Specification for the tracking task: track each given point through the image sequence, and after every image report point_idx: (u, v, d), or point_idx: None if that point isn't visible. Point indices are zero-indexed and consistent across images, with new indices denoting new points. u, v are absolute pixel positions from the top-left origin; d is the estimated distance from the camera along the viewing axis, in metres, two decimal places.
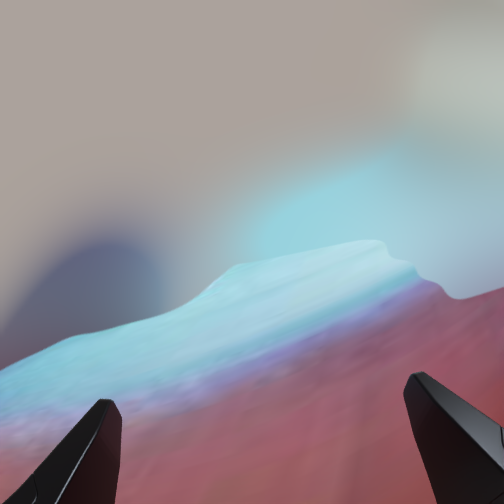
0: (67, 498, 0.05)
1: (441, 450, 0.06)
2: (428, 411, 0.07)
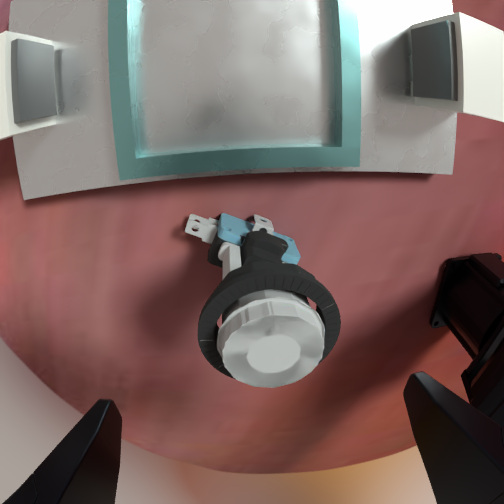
0: (67, 499, 0.05)
1: (441, 450, 0.06)
2: (428, 411, 0.07)
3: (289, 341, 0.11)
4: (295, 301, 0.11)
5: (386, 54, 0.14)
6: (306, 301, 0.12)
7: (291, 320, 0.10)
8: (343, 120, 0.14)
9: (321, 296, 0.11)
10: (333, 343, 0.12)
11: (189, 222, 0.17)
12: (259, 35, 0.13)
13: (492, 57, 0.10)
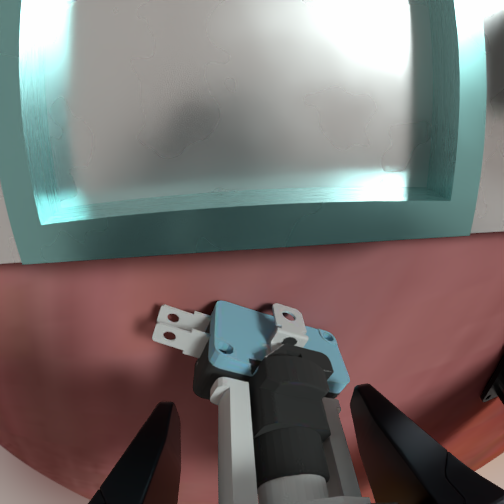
0: None
1: (382, 470, 0.06)
2: (369, 427, 0.07)
3: None
4: None
5: (501, 37, 0.06)
6: None
7: None
8: (459, 149, 0.06)
9: None
10: None
11: (158, 327, 0.09)
12: None
13: None
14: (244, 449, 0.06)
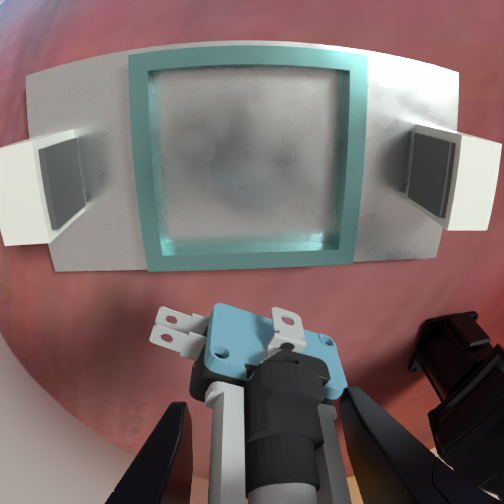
0: None
1: (369, 473, 0.06)
2: (357, 430, 0.07)
3: None
4: None
5: (388, 157, 0.17)
6: None
7: None
8: (342, 227, 0.18)
9: None
10: None
11: (155, 329, 0.09)
12: (273, 144, 0.17)
13: (485, 174, 0.13)
14: (235, 455, 0.06)
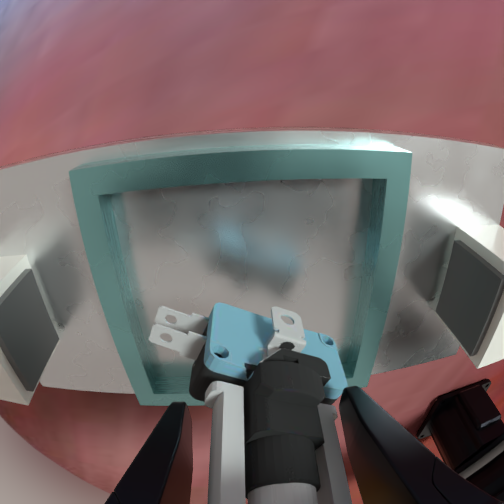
0: None
1: (369, 473, 0.06)
2: (357, 430, 0.07)
3: None
4: None
5: (419, 271, 0.14)
6: None
7: None
8: (358, 359, 0.14)
9: None
10: None
11: (154, 328, 0.09)
12: (278, 274, 0.13)
13: None
14: (235, 455, 0.06)
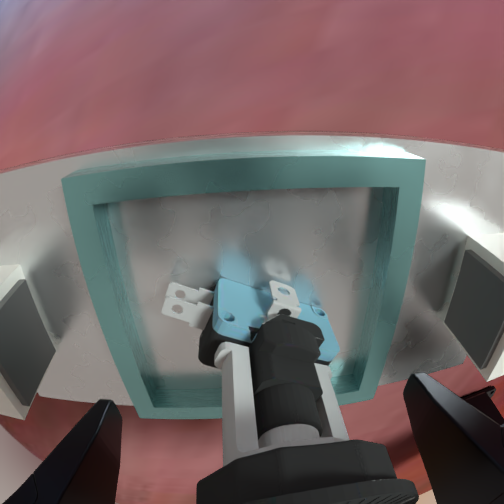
0: (67, 498, 0.05)
1: (441, 450, 0.06)
2: (428, 411, 0.07)
3: None
4: None
5: (428, 281, 0.13)
6: None
7: None
8: (365, 372, 0.14)
9: (400, 498, 0.04)
10: None
11: (167, 300, 0.11)
12: None
13: None
14: (245, 402, 0.08)
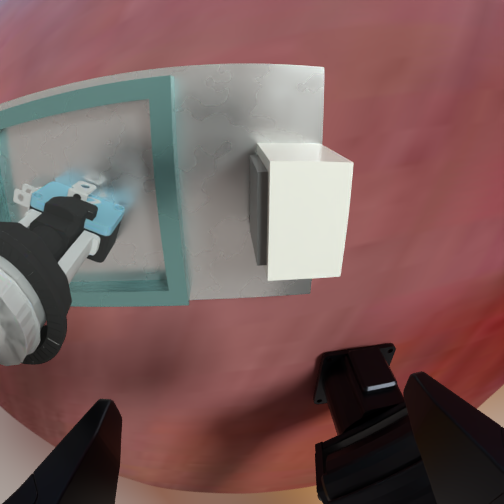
0: (67, 499, 0.05)
1: (441, 450, 0.06)
2: (428, 411, 0.07)
3: None
4: None
5: (220, 187, 0.16)
6: None
7: None
8: (167, 269, 0.17)
9: (18, 259, 0.07)
10: (60, 326, 0.08)
11: (15, 191, 0.13)
12: None
13: (323, 207, 0.12)
14: None
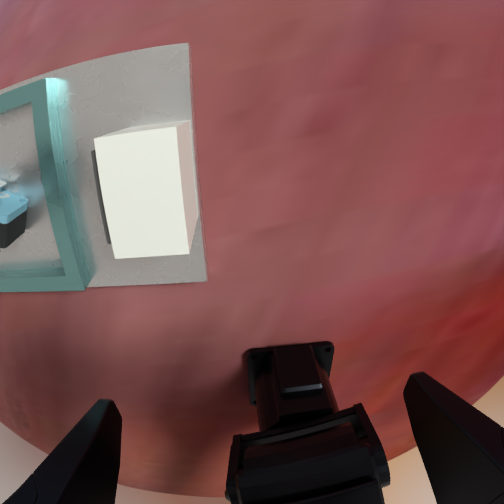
0: (67, 499, 0.05)
1: (441, 450, 0.06)
2: (428, 411, 0.07)
3: None
4: None
5: None
6: None
7: None
8: (60, 255, 0.16)
9: None
10: None
11: None
12: None
13: (151, 177, 0.11)
14: None
